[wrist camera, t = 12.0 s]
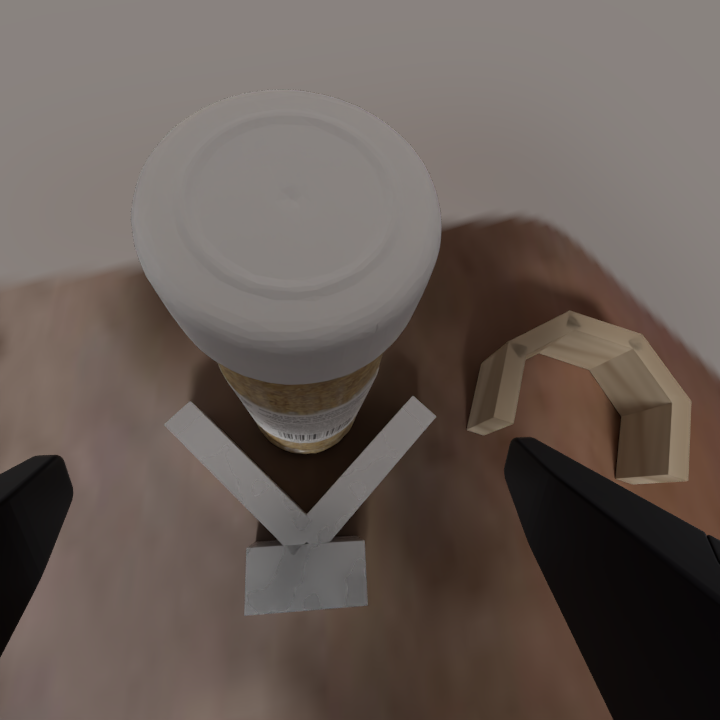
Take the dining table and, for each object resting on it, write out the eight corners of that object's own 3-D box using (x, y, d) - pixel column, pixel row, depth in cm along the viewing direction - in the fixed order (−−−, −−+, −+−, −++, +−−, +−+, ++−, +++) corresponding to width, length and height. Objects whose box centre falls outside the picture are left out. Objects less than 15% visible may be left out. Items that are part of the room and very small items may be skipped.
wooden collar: (632, 484, 19) (688, 481, 16) (465, 429, 19) (493, 416, 16) (642, 371, 21) (693, 351, 18) (490, 321, 21) (518, 293, 18)
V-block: (435, 585, 17) (455, 598, 15) (170, 605, 16) (145, 623, 13) (419, 408, 19) (433, 395, 17) (185, 414, 18) (166, 401, 16)
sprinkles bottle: (360, 359, 20) (449, 95, 7) (353, 460, 18) (453, 363, 5) (258, 349, 19) (157, 53, 7) (243, 453, 18) (77, 328, 5)
